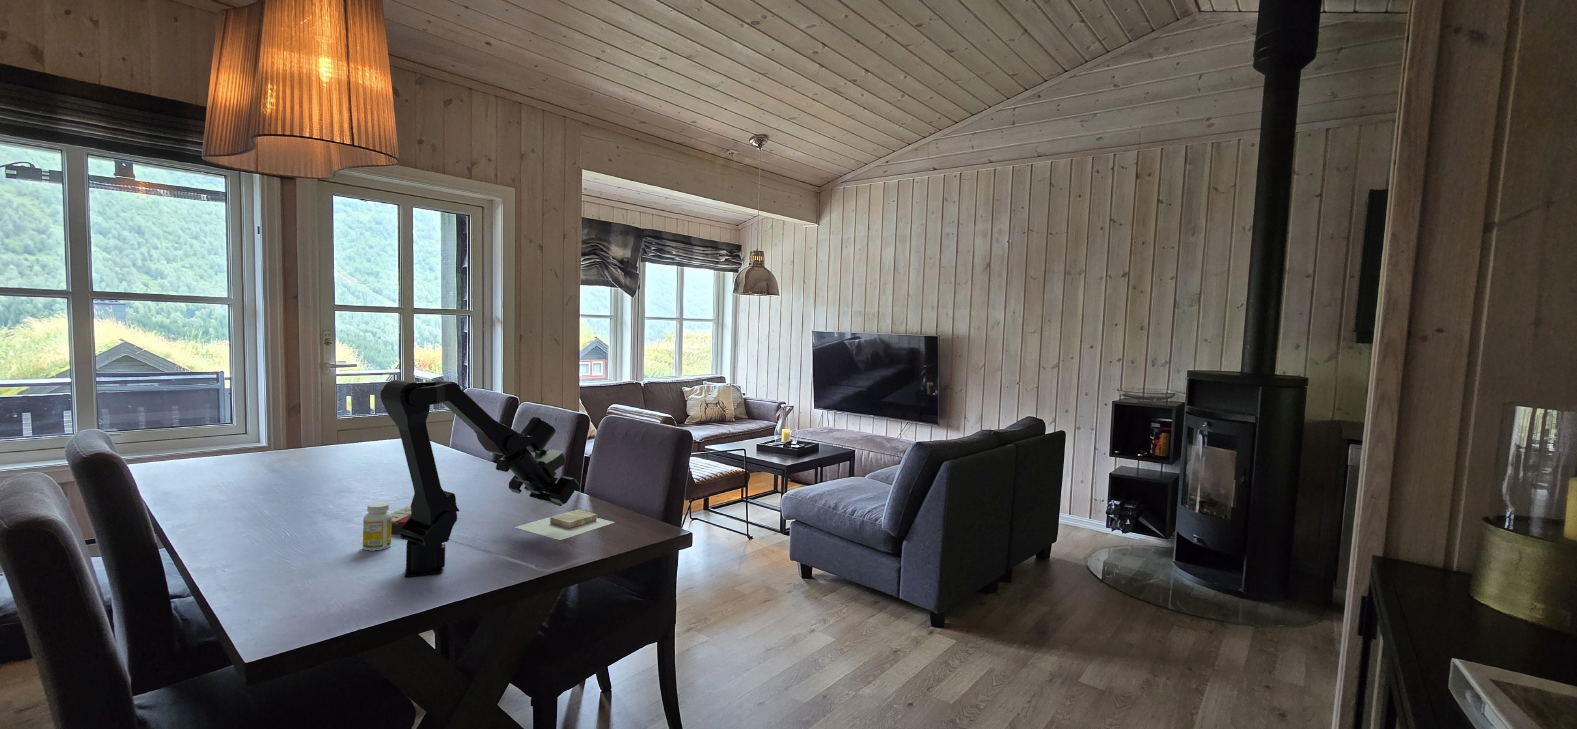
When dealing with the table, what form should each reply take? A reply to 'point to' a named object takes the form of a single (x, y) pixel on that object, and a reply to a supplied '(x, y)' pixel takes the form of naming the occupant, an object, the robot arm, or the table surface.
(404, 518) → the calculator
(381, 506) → the supplement bottle
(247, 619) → the table surface
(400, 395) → the robot arm
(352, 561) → the table surface
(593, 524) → the mat
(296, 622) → the table surface
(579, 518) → the tile
